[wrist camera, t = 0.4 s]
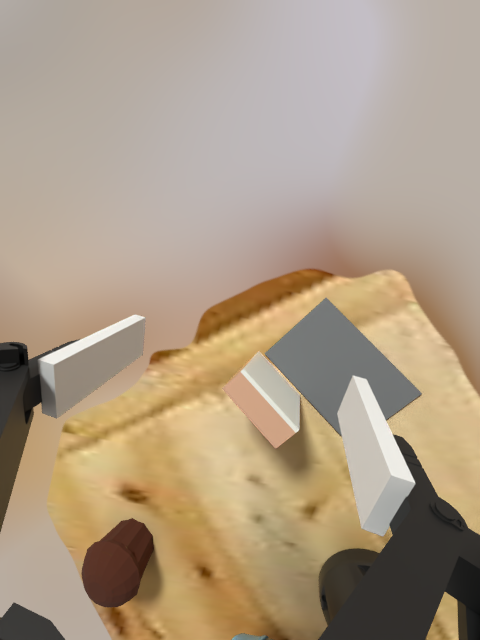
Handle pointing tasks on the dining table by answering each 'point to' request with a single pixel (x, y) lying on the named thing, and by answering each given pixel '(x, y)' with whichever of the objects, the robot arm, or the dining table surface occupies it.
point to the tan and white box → (266, 399)
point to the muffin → (117, 564)
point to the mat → (337, 364)
